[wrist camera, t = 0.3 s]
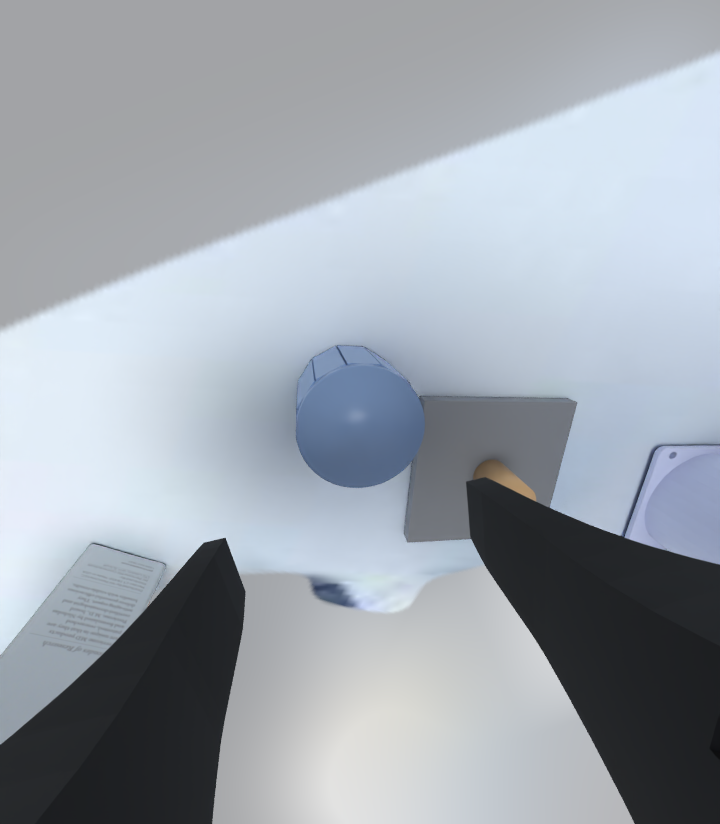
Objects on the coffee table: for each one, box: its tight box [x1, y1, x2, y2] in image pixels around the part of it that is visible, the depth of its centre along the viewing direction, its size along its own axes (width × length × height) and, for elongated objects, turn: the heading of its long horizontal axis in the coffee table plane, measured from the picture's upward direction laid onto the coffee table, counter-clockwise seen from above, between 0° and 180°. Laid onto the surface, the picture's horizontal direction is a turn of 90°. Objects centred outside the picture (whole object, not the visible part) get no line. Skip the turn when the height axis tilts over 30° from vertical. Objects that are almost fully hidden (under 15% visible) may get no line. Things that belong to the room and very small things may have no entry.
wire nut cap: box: [296, 345, 425, 488], centre depth 17 cm, size 5×5×5 cm
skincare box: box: [0, 544, 165, 744], centre depth 15 cm, size 6×4×12 cm
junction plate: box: [404, 396, 577, 542], centre depth 20 cm, size 9×9×4 cm
